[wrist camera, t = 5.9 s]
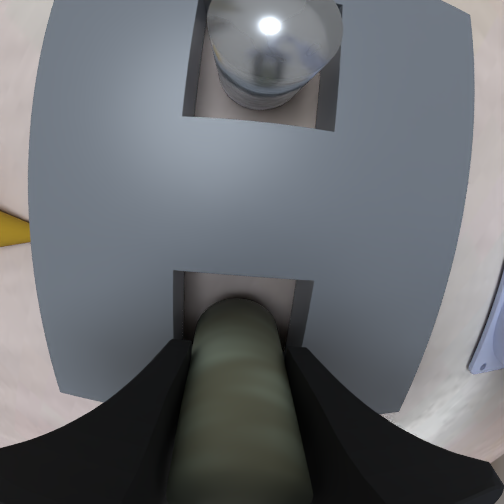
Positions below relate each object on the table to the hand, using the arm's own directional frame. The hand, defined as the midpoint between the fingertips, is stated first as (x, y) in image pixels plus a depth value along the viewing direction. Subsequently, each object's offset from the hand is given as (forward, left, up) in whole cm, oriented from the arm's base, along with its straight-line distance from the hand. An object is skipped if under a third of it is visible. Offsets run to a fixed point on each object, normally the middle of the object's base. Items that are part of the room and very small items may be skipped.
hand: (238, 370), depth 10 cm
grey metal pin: (0, -10, -4) cm, 10 cm away
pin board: (0, -5, -4) cm, 6 cm away
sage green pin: (0, 0, -2) cm, 2 cm away
